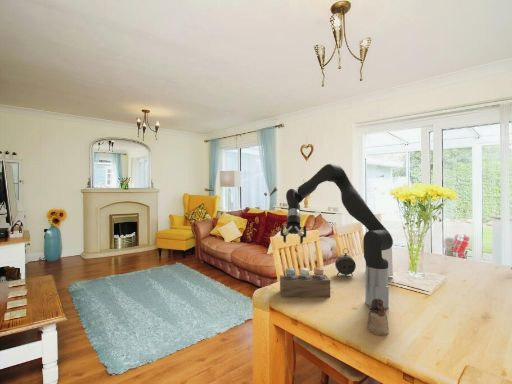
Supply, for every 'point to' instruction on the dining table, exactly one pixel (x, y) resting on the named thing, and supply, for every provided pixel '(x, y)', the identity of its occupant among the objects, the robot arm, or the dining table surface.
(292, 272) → the slate button
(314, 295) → the button console
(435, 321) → the dining table surface
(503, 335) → the dining table surface
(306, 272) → the cream button
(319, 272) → the terracotta button
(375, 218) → the robot arm
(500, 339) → the dining table surface
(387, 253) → the milk
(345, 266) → the alarm clock
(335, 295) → the dining table surface
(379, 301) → the figurine
